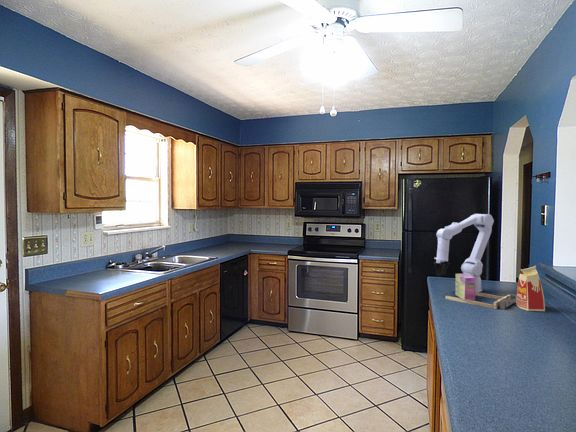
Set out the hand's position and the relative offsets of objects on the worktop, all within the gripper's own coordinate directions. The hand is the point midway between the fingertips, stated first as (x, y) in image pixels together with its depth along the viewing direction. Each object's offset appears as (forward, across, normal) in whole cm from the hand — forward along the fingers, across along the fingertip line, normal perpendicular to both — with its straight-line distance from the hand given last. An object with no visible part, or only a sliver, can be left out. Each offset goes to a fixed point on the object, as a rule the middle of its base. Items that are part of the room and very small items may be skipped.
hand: (440, 275), depth 191 cm
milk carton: (+8, +1, +41) cm, 42 cm away
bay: (+9, 0, +20) cm, 22 cm away
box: (+10, -1, +13) cm, 16 cm away
